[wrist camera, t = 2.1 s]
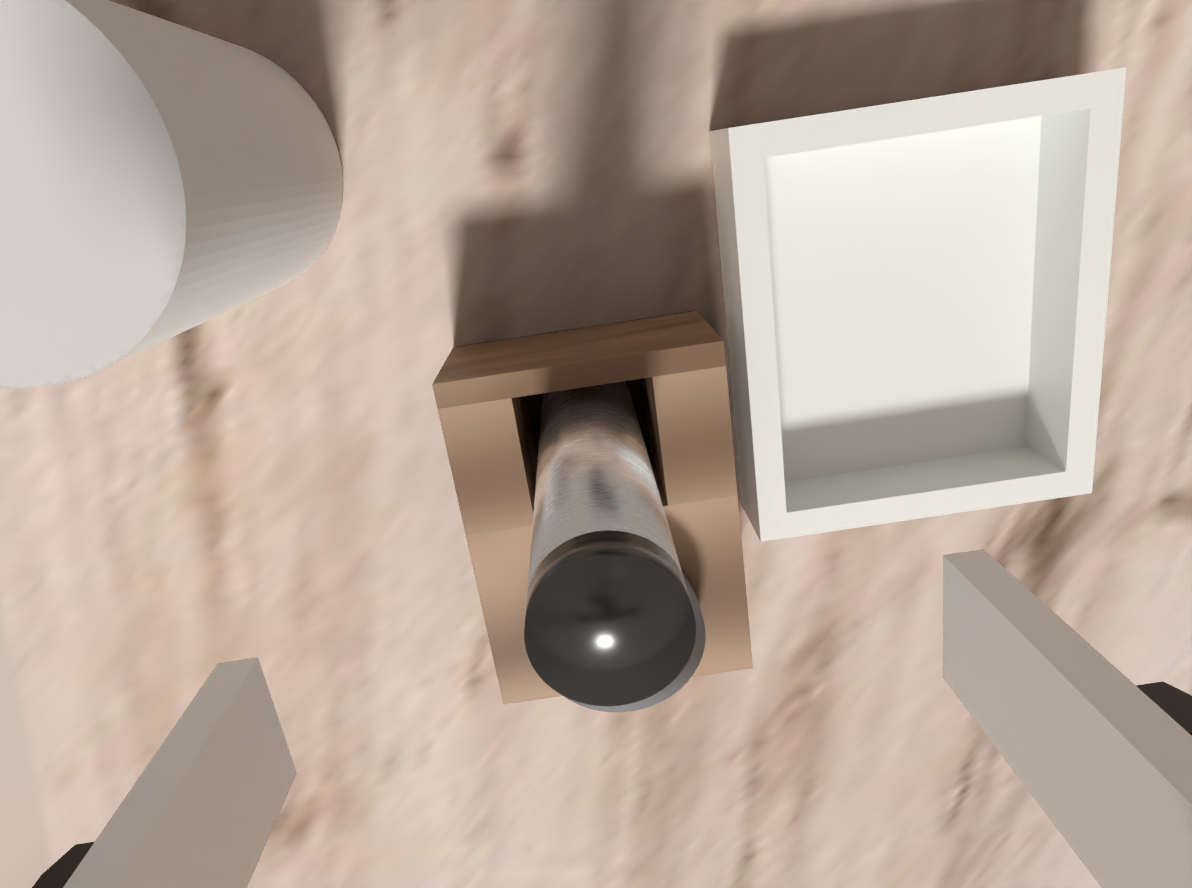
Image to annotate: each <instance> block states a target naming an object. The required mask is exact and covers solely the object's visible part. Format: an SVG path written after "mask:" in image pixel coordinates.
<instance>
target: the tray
mask: <svg viewBox="0 0 1192 888" xmlns="http://www.w3.org/2000/svg"><path fill="white" fill-rule="evenodd" d="M1125 79H1126V67H1125V68H1119V69H1112V70H1106V71H1099V72H1093V73H1086V74H1079V75H1073V76H1066V77H1060V78H1053V79H1047V80H1040V81H1034V82H1027V83H1020V84H1014V85H1007V86H1001V87H994V88H988V89H981V90H974V91H968V92H961V93H955V94H948V95H942V96H935V97H928V98H922V99H915V100H909V101H902V102H896V103H889V104H882V105H876V106H869V107H863V108H856V109H850V110H843V111H836V112H830V113H823V114H817V115H810V116H804V117H797V118H791V119H784V120H777V121H771V122H764V123H758V124H751V125H745V126H738V127H731V128H725V129H720V130H714V131H709V133H710V144H711V156H712V167H713V179H714V190H715V202H716V213H717V225H718V236H719V248H720V260H721V271H722V283H723V294H724V306H725V317H726V329H727V340H728V352H729V363H730V375H731V387H732V398H733V410H734V421H735V433H736V444H737V456H738V467H739V479H740V490H741V502H742V506H743V508H744V510H745V512H746V514H747V516H748V518H749V520H750V522H751V524H752V526H753V528H754V530H755V531H756V533H757V535H758V537H759V539H760V541H761V542H762V541H769V540H775V539H782V538H789V537H796V536H803V535H809V534H816V533H823V532H830V531H837V530H843V529H850V528H857V527H864V526H871V525H877V524H884V523H891V522H898V521H905V520H911V519H918V518H925V517H932V516H939V515H945V514H952V513H959V512H966V511H973V510H979V509H986V508H993V507H1000V506H1007V505H1013V504H1020V503H1027V502H1034V501H1041V500H1047V499H1054V498H1061V497H1068V496H1075V495H1081V494H1088V493H1092V485H1093V473H1094V461H1095V448H1096V436H1097V424H1098V411H1099V399H1100V387H1101V374H1102V362H1103V350H1104V338H1105V325H1106V313H1107V301H1108V288H1109V276H1110V264H1111V251H1112V239H1113V227H1114V214H1115V202H1116V190H1117V177H1118V165H1119V153H1120V140H1121V128H1122V116H1123V103H1124V91H1125Z"/></svg>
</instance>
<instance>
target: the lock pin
mask: <svg viewBox="0 0 1192 888" xmlns="http://www.w3.org/2000/svg"><path fill="white" fill-rule="evenodd" d="M695 638H696V621H695V616H694V611H693V608H692V605H691V601H690V598H689V594H688V591H687V587H686V584H685V581H684V577H683V574H682V570H681V567H680V563H679V560H678V556H677V553H676V550H675V546H674V543H673V539H672V536H671V532H670V529H669V525H668V522H667V519H666V515H665V512H664V508H663V505H662V501H661V498H660V494H659V491H658V488H657V484H656V481H655V477H654V474H653V470H652V467H651V463H650V460H649V457H648V453H647V450H646V446H645V443H644V439H643V436H642V432H641V429H640V426H639V422H638V419H637V415H636V412H635V408H634V405H633V401H632V398H631V395H630V392H629V389H628V387H627V385H626V383H625V382H624V381H622V382H615V383H609V384H602V385H595V386H589V387H582V388H575V389H569V390H562V391H555V392H548V393H544V396H543V401H542V412H541V424H540V437H539V450H538V462H537V475H536V488H535V500H534V513H533V526H532V538H531V551H530V563H529V576H528V589H527V601H526V614H525V627H524V641H525V648H526V652H527V655H528V658H529V660H530V662H531V665H532V666H533V668H534V670H535V671H536V673H537V674H538V675H539V676H540V678H541V679H542V680H543V681H544V682H545V683H546V684H547V685H548V686H550V687H551V688H552V689H553V690H555V691H556V692H558V693H559V694H561V695H563V696H565V697H567V698H569V699H572V700H574V701H577V702H580V703H584V704H588V705H595V706H620V705H626V704H631V703H635V702H638V701H641V700H644V699H646V698H648V697H650V696H653V695H654V694H656V693H658V692H659V691H661V690H663V689H664V688H665V687H667V686H668V685H669V684H670V683H671V682H672V681H673V680H674V679H676V678H677V677H678V675H679V674H680V673H681V672H682V670H683V669H684V667H685V666H686V664H687V662H688V661H689V659H690V656H691V654H692V652H693V648H694V644H695Z"/></svg>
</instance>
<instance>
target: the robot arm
mask: <svg viewBox="0 0 1192 888" xmlns="http://www.w3.org/2000/svg"><path fill="white" fill-rule="evenodd" d="M943 678H944V679H945V681H946V682H947V683H948V685H949V686H950V687H951V689H952V690H953V691H954V693H955V694H956V695H957V697H958V698H959V699H960V701H961V702H962V703H963V705H964V706H965V707H966V709H967V710H968V711H969V713H970V714H971V715H972V717H973V718H974V719H975V721H976V722H977V723H978V724H979V726H980V727H981V728H982V730H983V731H984V732H985V734H986V735H987V736H988V738H989V739H990V740H991V742H992V743H993V744H994V746H995V747H996V748H997V750H998V751H999V752H1000V754H1001V755H1002V756H1003V758H1004V759H1005V760H1006V762H1007V763H1008V764H1009V766H1010V767H1011V768H1012V769H1013V771H1014V772H1015V773H1016V775H1017V776H1018V777H1019V779H1020V780H1021V781H1022V783H1023V784H1024V785H1025V787H1026V788H1027V789H1028V791H1029V792H1030V793H1031V795H1032V796H1033V797H1034V799H1035V800H1036V801H1037V803H1038V804H1039V805H1040V807H1041V808H1042V809H1043V811H1044V812H1045V813H1046V815H1047V816H1048V817H1049V818H1050V820H1051V821H1052V822H1053V824H1054V825H1055V826H1056V828H1057V829H1058V830H1059V832H1060V833H1061V834H1062V836H1063V837H1064V838H1065V840H1066V841H1067V842H1068V844H1069V845H1070V846H1071V848H1072V849H1073V850H1074V852H1075V853H1076V854H1077V856H1078V857H1079V858H1080V860H1081V861H1082V862H1083V863H1084V865H1085V866H1086V867H1087V869H1088V870H1089V871H1090V873H1091V874H1092V875H1093V877H1094V878H1095V879H1096V881H1097V882H1098V883H1099V885H1100V886H1101V887H1102V888H1192V696H1191V695H1189V694H1187V693H1185V692H1183V691H1181V690H1179V689H1177V688H1175V687H1173V686H1171V685H1169V684H1167V683H1165V682H1157V683H1151V684H1144V685H1137V686H1136V685H1134V684H1133V683H1132V682H1131V681H1130V680H1129V679H1128V678H1127V677H1125V676H1124V675H1123V674H1122V673H1121V672H1120V671H1119V670H1118V669H1117V668H1115V667H1114V666H1113V665H1112V664H1111V663H1110V662H1109V661H1108V660H1107V659H1105V658H1104V657H1103V656H1102V655H1101V654H1100V653H1099V652H1098V651H1096V650H1095V649H1094V648H1093V647H1092V646H1091V645H1090V644H1089V643H1088V642H1086V641H1085V640H1084V639H1083V638H1082V637H1081V636H1080V635H1079V634H1077V633H1076V632H1075V631H1074V630H1073V629H1072V628H1071V627H1070V626H1069V625H1067V624H1066V623H1065V622H1064V621H1063V620H1062V619H1061V618H1060V617H1058V616H1057V615H1056V614H1055V613H1054V612H1053V611H1052V610H1051V609H1050V608H1048V607H1047V606H1046V605H1045V604H1044V603H1043V602H1042V601H1041V600H1040V599H1038V598H1037V597H1036V596H1035V595H1034V594H1033V593H1032V592H1031V591H1029V590H1028V589H1027V588H1026V587H1025V586H1024V585H1023V584H1022V583H1021V582H1019V581H1018V580H1017V579H1016V578H1015V577H1014V576H1013V575H1012V574H1010V573H1009V572H1008V571H1007V570H1006V569H1005V568H1004V567H1003V566H1002V565H1000V564H999V563H998V562H997V561H996V560H995V559H994V558H993V557H991V556H990V555H989V554H988V553H987V552H986V551H985V550H984V549H982V550H975V551H969V552H962V553H955V554H949V555H943ZM295 776H296V770H295V767H294V764H293V761H292V758H291V755H290V752H289V749H288V746H287V743H286V740H285V737H284V734H283V731H282V728H281V725H280V722H279V719H278V716H277V713H276V710H275V707H274V704H273V701H272V698H271V695H270V692H269V689H268V686H267V683H266V680H265V677H264V674H263V671H262V668H261V665H260V662H259V659H258V657H257V658H251V659H244V660H237V661H230V662H224V663H218V664H217V666H216V667H215V668H214V670H213V671H212V673H211V674H210V676H209V677H208V679H207V680H206V682H205V683H204V684H203V686H202V687H201V689H200V690H199V692H198V693H197V695H196V696H195V697H194V699H193V700H192V702H191V703H190V705H189V706H188V708H187V709H186V710H185V712H184V713H183V715H182V716H181V718H180V719H179V721H178V722H177V724H176V725H175V726H174V728H173V729H172V731H171V732H170V734H169V735H168V737H167V738H166V739H165V741H164V742H163V744H162V745H161V747H160V748H159V750H158V751H157V752H156V754H155V755H154V757H153V758H152V760H151V761H150V763H149V764H148V766H147V767H146V768H145V770H144V771H143V773H142V774H141V776H140V777H139V779H138V780H137V781H136V783H135V784H134V786H133V787H132V789H131V790H130V792H129V793H128V794H127V796H126V797H125V799H124V800H123V802H122V803H121V805H120V806H119V807H118V809H117V810H116V812H115V813H114V815H113V816H112V818H111V819H110V821H109V822H108V823H107V825H106V826H105V828H104V829H103V831H102V832H101V834H100V835H99V836H98V838H97V839H96V841H95V842H90V843H84V844H77V845H75V846H74V847H72V848H71V849H70V850H69V851H68V852H67V853H66V854H65V855H63V856H62V857H61V858H60V859H59V860H58V861H57V862H56V863H54V864H53V865H52V866H51V867H50V868H49V869H48V870H47V871H45V872H44V873H43V874H42V875H41V876H40V878H39V879H38V880H37V882H36V883H35V885H34V886H33V887H32V888H247V886H248V884H249V881H250V879H251V877H252V874H253V872H254V870H255V868H256V865H257V863H258V861H259V858H260V856H261V854H262V851H263V849H264V847H265V845H266V842H267V840H268V838H269V835H270V833H271V831H272V828H273V826H274V824H275V822H276V819H277V817H278V815H279V812H280V810H281V808H282V805H283V803H284V801H285V799H286V796H287V794H288V792H289V789H290V787H291V785H292V782H293V780H294V778H295Z"/></svg>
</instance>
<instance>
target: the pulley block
mask: <svg viewBox="0 0 1192 888" xmlns="http://www.w3.org/2000/svg"><path fill="white" fill-rule="evenodd" d="M636 379H642V380H643V388H644V396H645V404H646V412H647V420H648V428H649V436H650V443H651V451H652V452H650V453H648V457H649V460H650V463H651V467H652V470H653V474H654V477H655V481H656V484H657V488H658V491H659V494H660V498H661V501H662V505H663V508H664V512H665V515H666V519H667V522H668V525H669V529H670V532H671V536H672V539H673V543H674V546H675V550H676V553H677V556H678V560H679V563H680V567H681V570H682V574H683V577H684V581H685V584H686V587H687V591H688V594H689V598H690V601H691V605H692V608H693V611H694V616H695V621H696V638H695V644H694V648H693V652H692V654H691V656H690V659H689V661H688V662H687V664H686V666H685V667H684V669H683V670H682V672H681V673H680V674H679V675H678V677H677V678H676V679H674V680H673V681H672V682H671V683H670V684H669V685H668V686H667V687H665V688H664V689H663V690H661V691H659V692H658V693H656V694H654V695H653V696H650V697H648V698H646V699H644V700H641V701H638V702H635V703H631V704H626V705H620V706H595V705H588V704H584V703H580V702H577V701H574V700H572V699H569V698H567V697H566V698H567V699H569V700H571V701H573V702H575V703H577V704H579V705H581V706H584V707H587V708H590V709H594V710H598V711H605V712H628V711H635V710H640V709H644V708H647V707H650V706H653V705H655V704H657V703H659V702H662V701H663V700H665V699H667V698H669V697H670V696H672V695H673V694H674V693H676V692H677V691H678V690H680V689H681V688H682V687H683V686H684V685H685V684H686V683H687V682H688V680H689V679H690V678H691V677H695V676H702V675H709V674H716V673H723V672H730V671H737V670H744V669H750V668H753V664H752V653H751V642H750V630H749V619H748V608H747V596H746V585H745V574H744V562H743V551H742V540H741V528H740V517H739V506H738V494H737V483H736V472H735V460H734V449H733V438H732V426H731V415H730V404H729V392H728V381H727V370H726V358H725V347H724V340H723V339H722V338H721V337H720V336H719V335H718V333H717V332H716V331H715V330H714V329H713V328H712V327H711V326H710V324H709V323H708V322H707V321H706V320H705V319H704V318H703V317H702V315H701V314H700V313H699V312H698V311H693V312H686V313H679V314H673V315H666V316H659V317H653V318H646V319H639V320H633V321H626V322H620V323H613V324H606V325H600V326H593V327H586V328H580V329H573V330H566V331H560V332H553V333H546V334H540V335H533V336H526V337H520V338H513V339H506V340H500V341H493V342H486V343H480V344H473V345H466V346H460V347H453V349H452V351H451V352H450V354H449V356H448V358H447V360H446V361H445V363H444V365H443V367H442V368H441V370H440V372H439V374H438V375H437V377H436V379H435V381H434V382H433V384H432V385H433V389H434V394H435V398H436V403H437V407H438V412H439V416H440V421H441V425H442V430H443V434H444V439H445V443H446V448H447V452H448V457H449V461H450V466H451V470H452V475H453V479H454V484H455V488H456V493H457V497H458V502H459V506H460V511H461V515H462V520H463V524H464V529H465V533H466V538H467V542H468V547H469V551H470V556H471V560H472V565H473V569H474V574H475V578H476V583H477V587H478V592H479V596H480V601H481V605H482V610H483V614H484V619H485V623H486V628H487V632H488V637H489V641H490V646H491V650H492V655H493V659H494V664H495V668H496V673H497V677H498V681H499V686H500V690H501V695H502V699H503V704H510V703H517V702H524V701H531V700H537V699H544V698H551V697H558V696H563V695H561V694H559V693H558V692H556V691H555V690H553V689H552V688H551V687H550V686H548V685H547V684H546V683H545V682H544V681H543V680H542V679H541V678H540V676H539V675H538V674H537V673H536V671H535V670H534V668H533V666H532V665H531V662H530V660H529V658H528V655H527V652H526V648H525V641H524V627H525V614H526V601H527V589H528V576H529V563H530V551H531V538H532V526H533V513H534V500H535V488H536V475H537V462H538V459H537V454H536V448H535V443H534V437H533V432H532V426H531V421H530V415H529V410H528V404H527V398H526V396H528V395H535V394H542V393H548V392H555V391H562V390H569V389H575V388H582V387H589V386H595V385H602V384H609V383H615V382H622V381H629V380H636ZM564 697H565V696H564Z"/></svg>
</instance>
